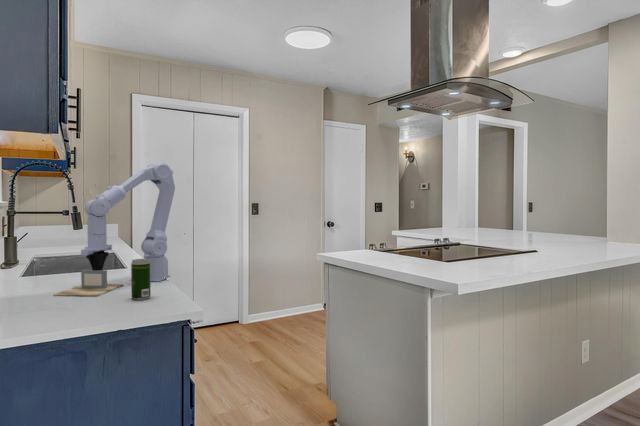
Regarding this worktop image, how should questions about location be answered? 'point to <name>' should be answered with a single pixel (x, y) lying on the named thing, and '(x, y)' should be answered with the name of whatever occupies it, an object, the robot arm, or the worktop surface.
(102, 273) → the tile
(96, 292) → the mat
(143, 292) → the guarana soda can
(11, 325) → the worktop surface
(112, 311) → the worktop surface
